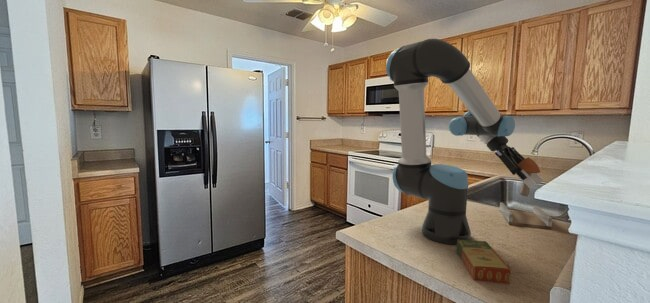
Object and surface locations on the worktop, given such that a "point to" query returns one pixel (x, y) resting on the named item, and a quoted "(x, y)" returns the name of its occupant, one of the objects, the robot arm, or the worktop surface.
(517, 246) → the worktop surface
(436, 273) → the worktop surface
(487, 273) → the carton
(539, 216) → the track
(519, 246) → the worktop surface
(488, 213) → the worktop surface
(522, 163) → the mushroom
